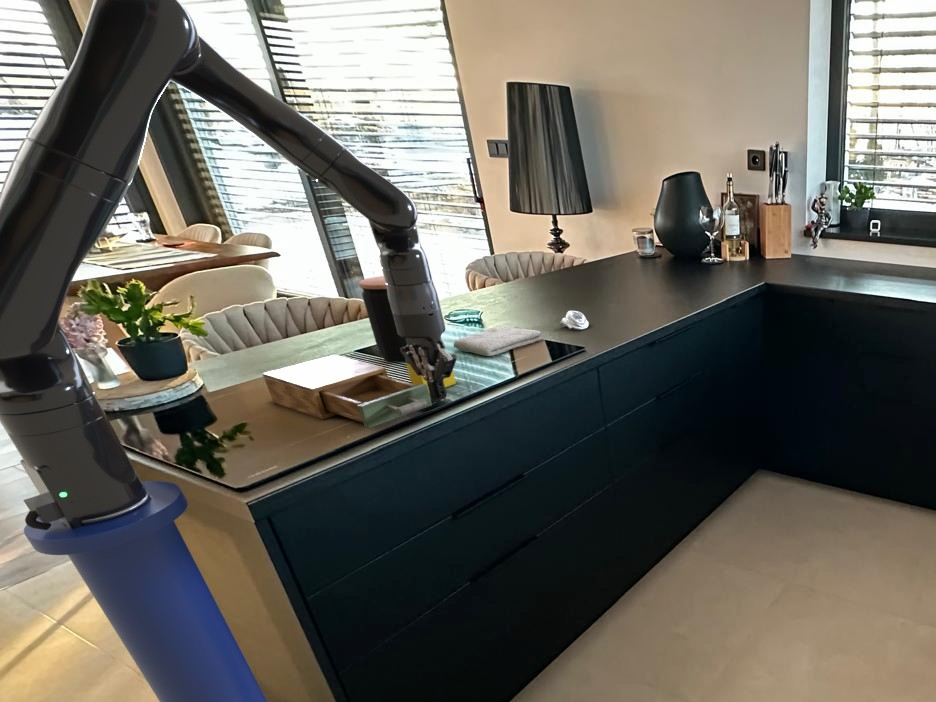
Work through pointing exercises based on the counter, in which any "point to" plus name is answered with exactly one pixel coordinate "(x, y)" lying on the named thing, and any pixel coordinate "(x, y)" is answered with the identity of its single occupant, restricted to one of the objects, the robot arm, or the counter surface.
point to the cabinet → (315, 382)
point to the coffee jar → (382, 319)
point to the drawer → (375, 399)
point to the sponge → (419, 380)
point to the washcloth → (497, 340)
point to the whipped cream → (574, 320)
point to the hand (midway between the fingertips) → (439, 398)
